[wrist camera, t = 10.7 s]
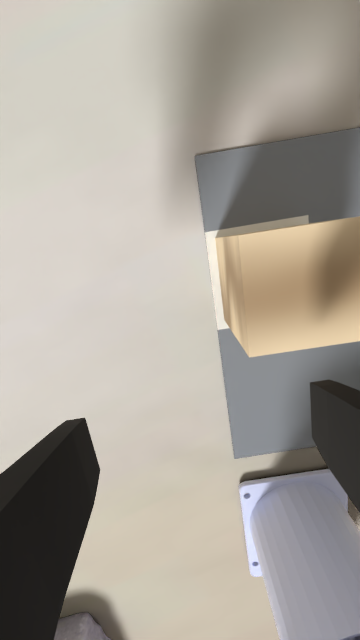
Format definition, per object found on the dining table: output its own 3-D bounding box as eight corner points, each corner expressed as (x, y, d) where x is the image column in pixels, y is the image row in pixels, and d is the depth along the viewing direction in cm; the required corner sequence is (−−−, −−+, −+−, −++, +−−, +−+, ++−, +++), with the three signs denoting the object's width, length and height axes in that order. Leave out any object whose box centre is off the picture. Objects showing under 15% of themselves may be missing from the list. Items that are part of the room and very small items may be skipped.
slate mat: (467, 422, 20) (469, 423, 20) (234, 457, 21) (234, 459, 20) (509, 102, 15) (512, 100, 15) (194, 156, 15) (195, 155, 15)
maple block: (303, 308, 18) (367, 339, 12) (224, 319, 18) (249, 357, 12) (300, 224, 16) (371, 214, 10) (215, 238, 16) (238, 235, 11)
